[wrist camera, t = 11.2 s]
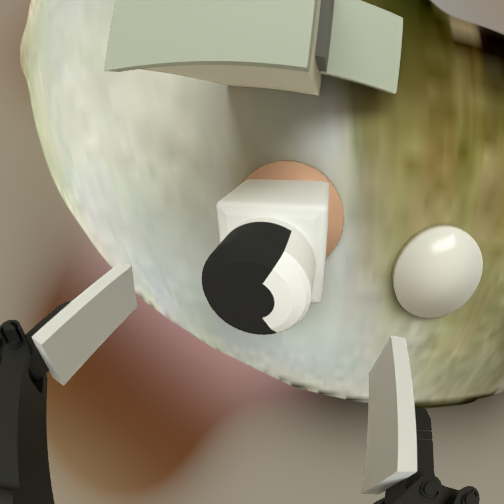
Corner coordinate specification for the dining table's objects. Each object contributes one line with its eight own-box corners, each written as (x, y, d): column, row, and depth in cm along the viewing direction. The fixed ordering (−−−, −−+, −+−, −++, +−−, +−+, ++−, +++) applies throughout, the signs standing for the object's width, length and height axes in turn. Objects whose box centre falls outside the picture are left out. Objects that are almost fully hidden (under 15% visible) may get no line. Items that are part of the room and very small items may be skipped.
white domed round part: (491, 238, 21) (496, 243, 20) (453, 317, 26) (456, 324, 25) (411, 211, 23) (414, 216, 22) (378, 301, 27) (379, 308, 26)
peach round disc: (354, 173, 23) (355, 176, 22) (329, 273, 27) (328, 279, 26) (241, 151, 24) (237, 153, 23) (231, 250, 29) (227, 256, 28)
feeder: (398, 9, 15) (454, -80, 2) (388, 114, 20) (466, 114, 7) (238, -11, 17) (146, -92, 4) (224, 87, 22) (104, 71, 9)
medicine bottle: (249, 252, 27) (197, 338, 17) (245, 178, 24) (177, 231, 14) (325, 258, 26) (314, 356, 15) (329, 180, 22) (326, 240, 12)
